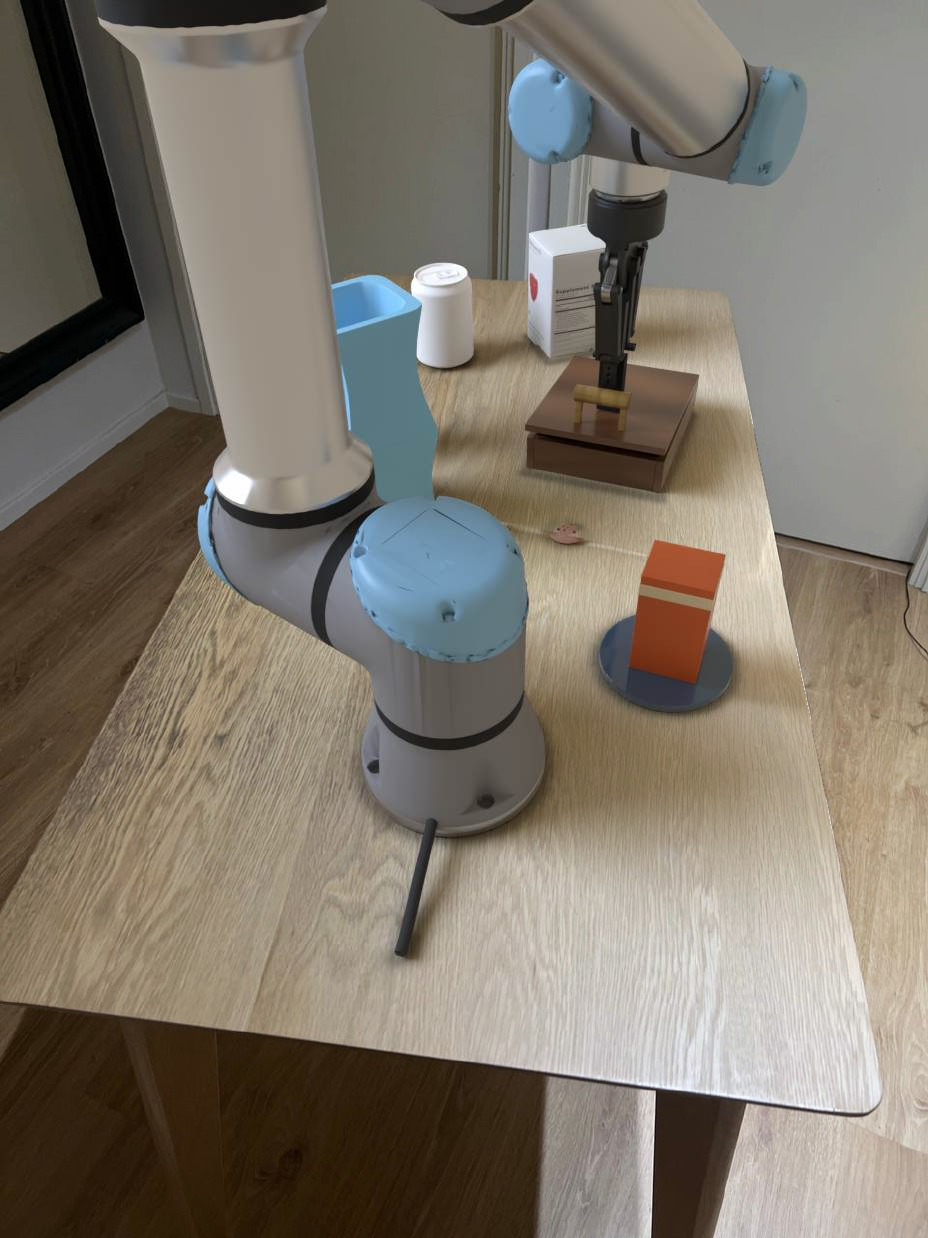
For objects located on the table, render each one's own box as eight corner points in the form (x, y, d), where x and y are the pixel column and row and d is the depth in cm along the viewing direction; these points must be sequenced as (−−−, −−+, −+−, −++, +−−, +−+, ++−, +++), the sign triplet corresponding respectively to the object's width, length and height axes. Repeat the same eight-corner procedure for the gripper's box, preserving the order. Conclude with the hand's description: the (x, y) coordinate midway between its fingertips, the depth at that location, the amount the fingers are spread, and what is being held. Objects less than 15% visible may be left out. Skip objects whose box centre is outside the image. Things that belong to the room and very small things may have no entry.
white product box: (525, 336, 129) (526, 230, 119) (582, 325, 131) (588, 221, 121) (548, 364, 123) (551, 255, 113) (607, 352, 125) (616, 245, 114)
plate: (718, 727, 76) (720, 721, 75) (583, 691, 79) (583, 685, 79) (741, 634, 84) (743, 628, 83) (617, 605, 87) (618, 599, 87)
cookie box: (695, 684, 78) (715, 592, 71) (627, 667, 80) (640, 575, 73) (706, 646, 82) (726, 554, 74) (641, 630, 84) (654, 538, 76)
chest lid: (664, 455, 95) (671, 411, 91) (524, 430, 99) (526, 387, 96) (698, 380, 109) (705, 339, 105) (574, 361, 113) (577, 321, 110)
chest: (659, 499, 100) (664, 462, 96) (526, 473, 104) (526, 437, 101) (692, 415, 112) (698, 380, 109) (572, 395, 117) (574, 361, 113)
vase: (324, 512, 100) (285, 297, 83) (400, 483, 104) (378, 270, 86) (364, 558, 94) (332, 336, 77) (444, 525, 97) (429, 306, 80)
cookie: (552, 520, 97) (553, 513, 97) (589, 527, 96) (589, 519, 96) (543, 541, 95) (543, 534, 94) (580, 548, 94) (581, 541, 93)
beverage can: (408, 351, 127) (400, 268, 119) (459, 339, 129) (455, 256, 121) (430, 376, 122) (424, 291, 113) (483, 362, 124) (481, 278, 116)
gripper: (651, 216, 79) (627, 442, 96) (681, 170, 88) (655, 385, 104) (570, 208, 82) (560, 430, 98) (608, 163, 90) (593, 375, 106)
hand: (609, 407), depth 101 cm, fingers closed
